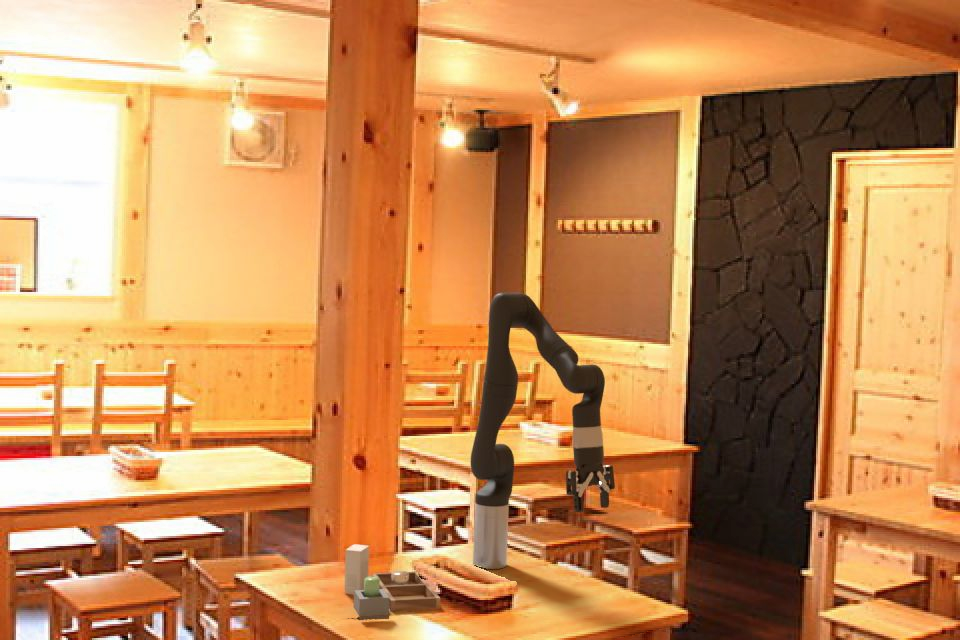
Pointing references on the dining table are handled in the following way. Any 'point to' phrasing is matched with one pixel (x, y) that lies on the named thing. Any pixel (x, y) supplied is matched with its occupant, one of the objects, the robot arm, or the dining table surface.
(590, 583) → the dining table surface
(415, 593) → the tray
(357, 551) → the skincare box
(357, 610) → the grey square open box
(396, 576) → the beige rounded cylinder
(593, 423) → the robot arm
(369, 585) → the button
